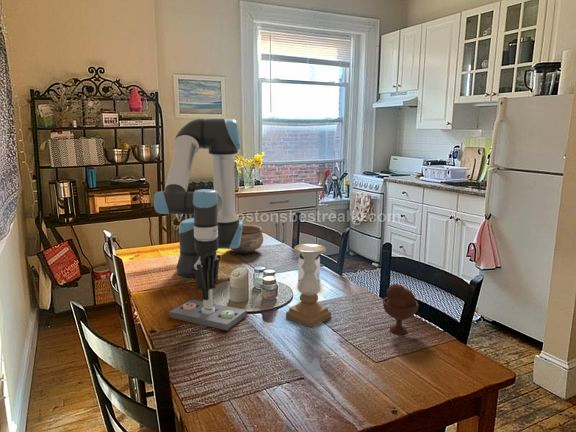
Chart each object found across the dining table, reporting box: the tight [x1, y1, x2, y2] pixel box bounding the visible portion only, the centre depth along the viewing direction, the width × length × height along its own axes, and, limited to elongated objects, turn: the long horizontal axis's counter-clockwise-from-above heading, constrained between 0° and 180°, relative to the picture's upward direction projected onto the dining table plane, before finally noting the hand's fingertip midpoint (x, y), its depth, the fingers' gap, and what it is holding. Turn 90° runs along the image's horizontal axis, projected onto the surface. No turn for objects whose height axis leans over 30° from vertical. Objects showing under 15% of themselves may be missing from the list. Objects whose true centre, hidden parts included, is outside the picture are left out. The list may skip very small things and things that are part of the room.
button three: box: [201, 307, 215, 315], centre depth 147 cm, size 4×4×3 cm
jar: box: [297, 253, 321, 281], centre depth 184 cm, size 9×8×12 cm
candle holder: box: [285, 243, 332, 328], centre depth 145 cm, size 11×11×24 cm
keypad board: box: [169, 298, 247, 331], centre depth 147 cm, size 22×12×2 cm, turn 65°
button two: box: [182, 302, 196, 311], centre depth 150 cm, size 4×4×3 cm
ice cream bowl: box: [382, 283, 420, 336], centre depth 137 cm, size 11×11×15 cm
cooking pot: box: [231, 224, 264, 255], centre depth 222 cm, size 25×19×12 cm
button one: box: [221, 310, 235, 319], centre depth 144 cm, size 4×4×3 cm
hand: (208, 307), depth 147 cm, fingers closed
